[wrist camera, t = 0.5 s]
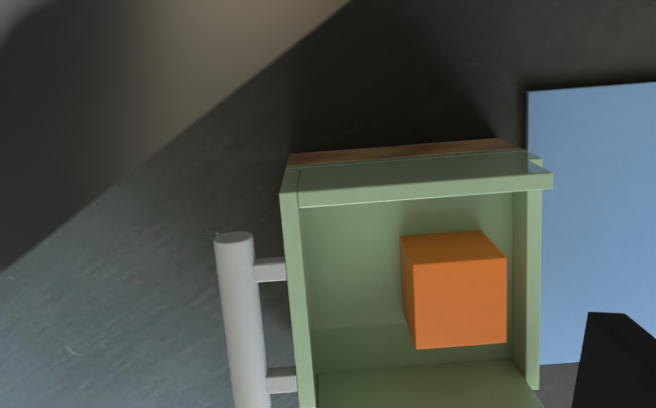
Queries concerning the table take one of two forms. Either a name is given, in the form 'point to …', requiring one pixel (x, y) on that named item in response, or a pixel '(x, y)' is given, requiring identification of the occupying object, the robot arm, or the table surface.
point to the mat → (595, 208)
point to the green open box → (386, 283)
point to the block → (453, 289)
